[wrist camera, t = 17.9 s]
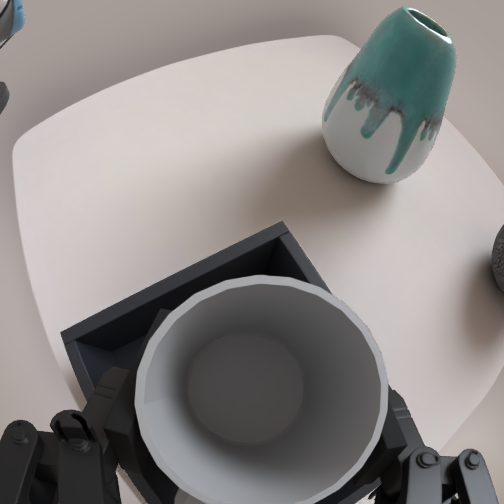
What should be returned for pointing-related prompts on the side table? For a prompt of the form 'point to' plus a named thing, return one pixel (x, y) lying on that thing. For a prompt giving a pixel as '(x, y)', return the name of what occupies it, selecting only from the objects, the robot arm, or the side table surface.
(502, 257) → the decorative ball
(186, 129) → the side table surface
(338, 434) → the cup
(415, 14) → the vase
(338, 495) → the open box
